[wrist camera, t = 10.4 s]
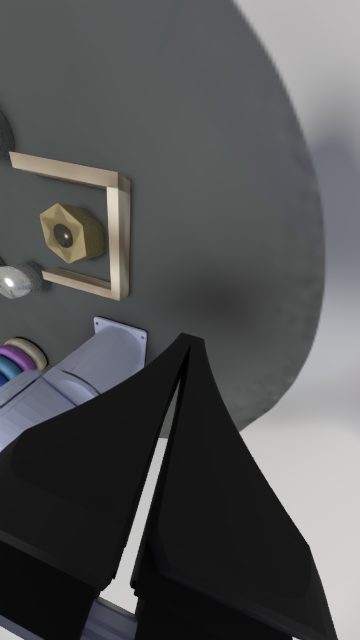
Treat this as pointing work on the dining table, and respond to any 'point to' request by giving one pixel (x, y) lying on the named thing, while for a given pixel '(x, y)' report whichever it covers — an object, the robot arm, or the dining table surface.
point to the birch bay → (117, 221)
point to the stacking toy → (19, 359)
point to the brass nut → (73, 233)
